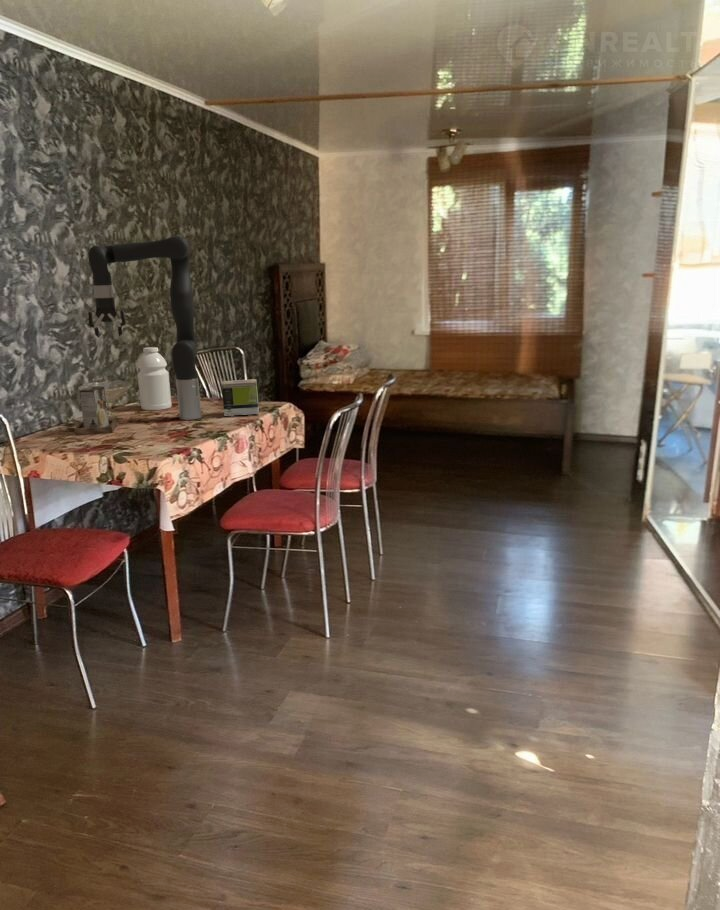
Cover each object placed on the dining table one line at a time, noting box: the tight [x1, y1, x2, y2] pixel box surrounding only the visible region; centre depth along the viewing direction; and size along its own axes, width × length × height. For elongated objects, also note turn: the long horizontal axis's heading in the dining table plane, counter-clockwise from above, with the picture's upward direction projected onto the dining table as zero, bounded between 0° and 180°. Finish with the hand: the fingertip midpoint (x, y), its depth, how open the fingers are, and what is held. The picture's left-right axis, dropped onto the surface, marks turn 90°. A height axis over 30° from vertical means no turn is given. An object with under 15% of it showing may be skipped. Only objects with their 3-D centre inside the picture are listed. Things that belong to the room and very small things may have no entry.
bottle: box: [136, 346, 173, 411], centre depth 321 cm, size 14×14×28 cm
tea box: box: [221, 378, 260, 417], centre depth 304 cm, size 15×10×15 cm
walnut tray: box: [73, 419, 117, 436], centre depth 280 cm, size 14×14×2 cm
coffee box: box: [79, 386, 109, 428], centre depth 278 cm, size 9×6×16 cm
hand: (109, 336), depth 288 cm, fingers open, 8 cm apart
